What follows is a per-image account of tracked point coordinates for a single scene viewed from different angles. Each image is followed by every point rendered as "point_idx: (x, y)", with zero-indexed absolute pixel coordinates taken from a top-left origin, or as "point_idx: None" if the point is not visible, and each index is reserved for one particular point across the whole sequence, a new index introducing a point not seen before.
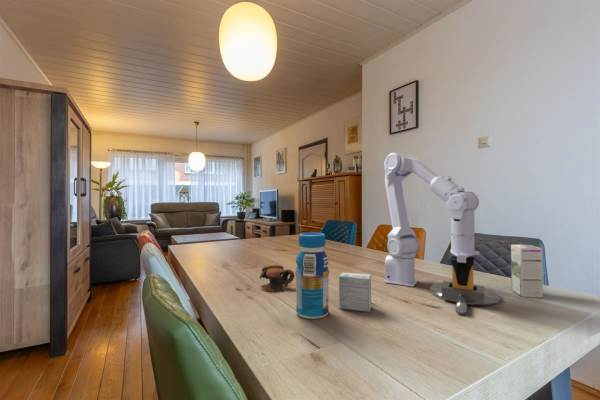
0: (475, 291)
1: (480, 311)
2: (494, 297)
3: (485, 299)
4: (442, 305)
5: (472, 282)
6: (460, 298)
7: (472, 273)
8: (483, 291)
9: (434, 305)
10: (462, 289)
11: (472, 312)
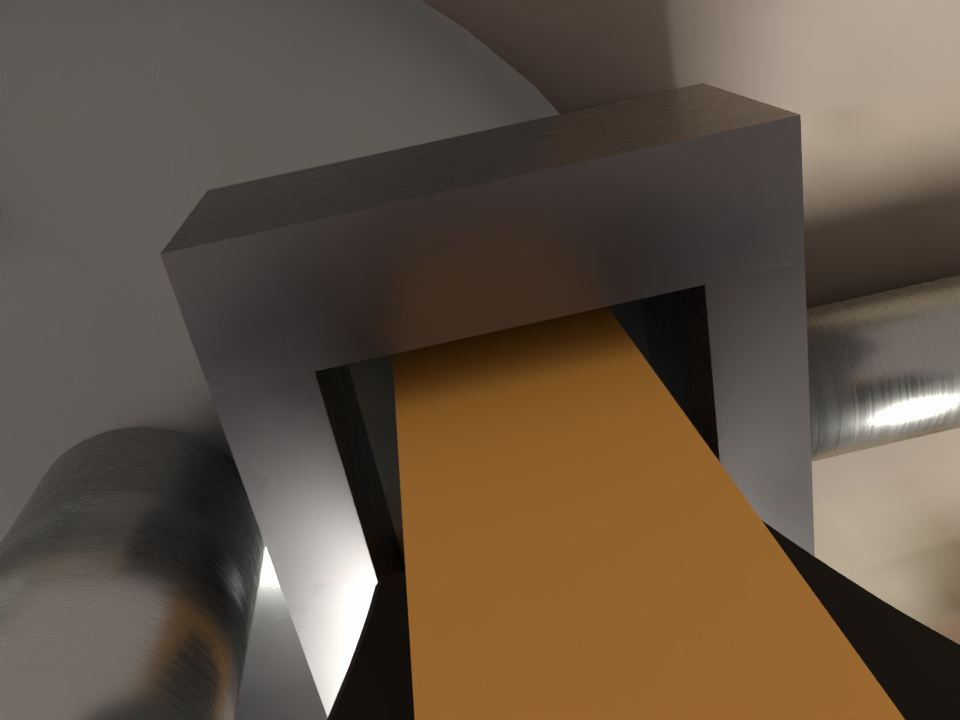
0: (768, 289)
1: (845, 96)
2: (70, 3)
3: (358, 127)
4: (869, 539)
5: (698, 450)
6: (903, 421)
7: (809, 613)
8: (660, 156)
9: (920, 599)
10: (759, 505)
11: (950, 181)
